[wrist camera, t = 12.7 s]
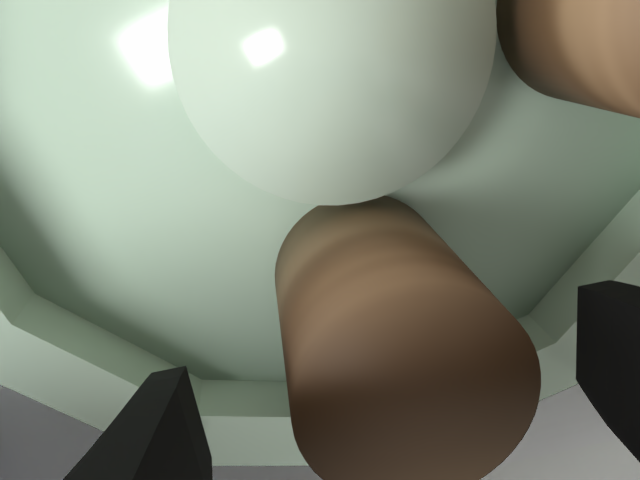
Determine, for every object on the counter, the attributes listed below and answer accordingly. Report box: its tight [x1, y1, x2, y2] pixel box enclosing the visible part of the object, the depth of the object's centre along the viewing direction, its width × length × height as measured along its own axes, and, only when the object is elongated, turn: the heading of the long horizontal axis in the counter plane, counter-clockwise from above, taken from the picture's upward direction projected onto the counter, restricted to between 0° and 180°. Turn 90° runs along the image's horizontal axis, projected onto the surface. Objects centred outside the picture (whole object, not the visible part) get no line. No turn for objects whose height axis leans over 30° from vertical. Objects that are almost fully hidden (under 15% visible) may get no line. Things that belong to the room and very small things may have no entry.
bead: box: [275, 195, 541, 480], centre depth 11 cm, size 4×4×5 cm
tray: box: [0, 0, 640, 466], centre depth 11 cm, size 19×19×2 cm
